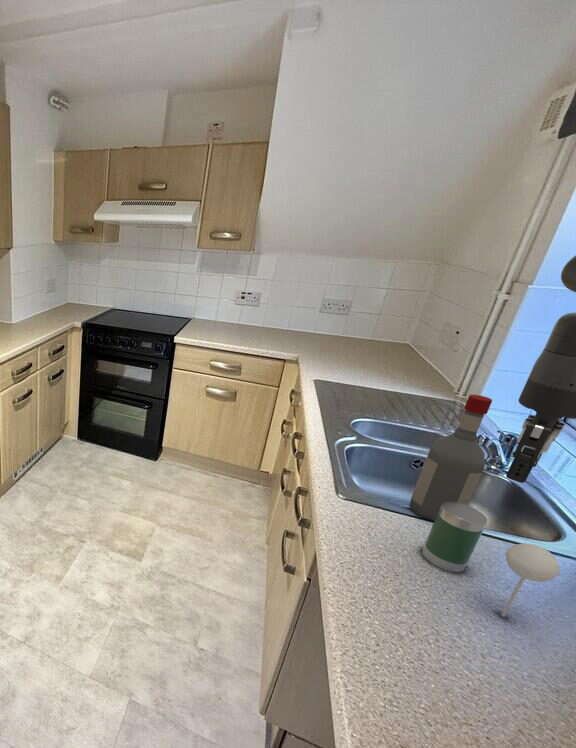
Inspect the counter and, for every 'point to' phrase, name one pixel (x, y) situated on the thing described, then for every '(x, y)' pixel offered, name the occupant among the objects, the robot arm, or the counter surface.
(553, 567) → the lollipop
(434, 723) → the counter surface
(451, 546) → the can
